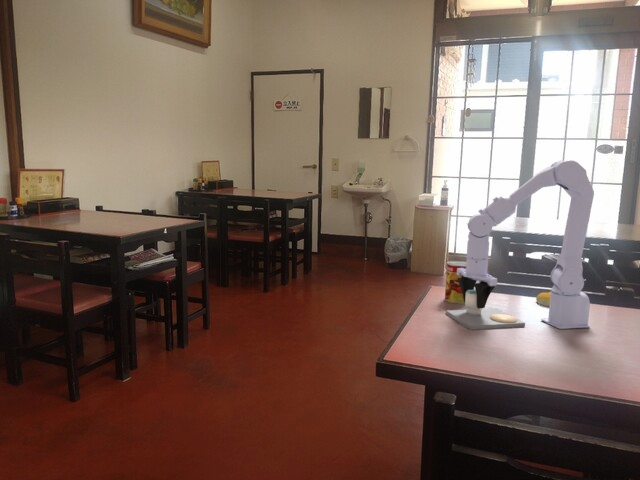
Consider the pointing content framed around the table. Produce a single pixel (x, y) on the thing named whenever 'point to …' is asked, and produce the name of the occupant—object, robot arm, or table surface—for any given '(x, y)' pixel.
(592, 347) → the table surface
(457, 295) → the canned food
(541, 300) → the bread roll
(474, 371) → the table surface
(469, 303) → the cap
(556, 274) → the robot arm
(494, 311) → the post board
